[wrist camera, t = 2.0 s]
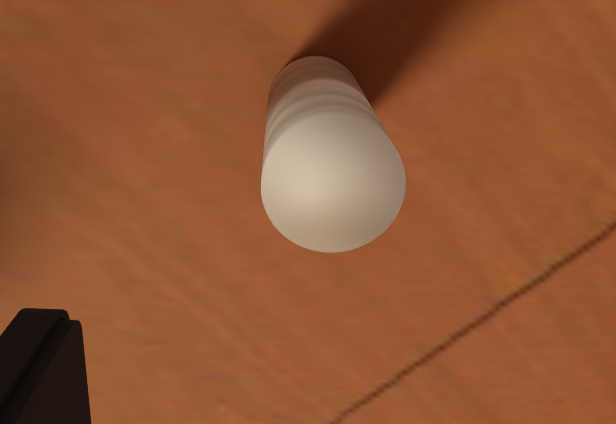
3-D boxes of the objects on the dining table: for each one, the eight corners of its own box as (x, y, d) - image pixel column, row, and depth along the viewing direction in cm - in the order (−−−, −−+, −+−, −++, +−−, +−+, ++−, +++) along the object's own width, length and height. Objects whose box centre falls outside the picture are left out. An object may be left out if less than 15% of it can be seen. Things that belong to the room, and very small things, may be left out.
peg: (270, 52, 24) (263, 112, 15) (365, 58, 25) (415, 121, 16) (266, 145, 26) (258, 249, 17) (356, 149, 26) (396, 255, 17)
